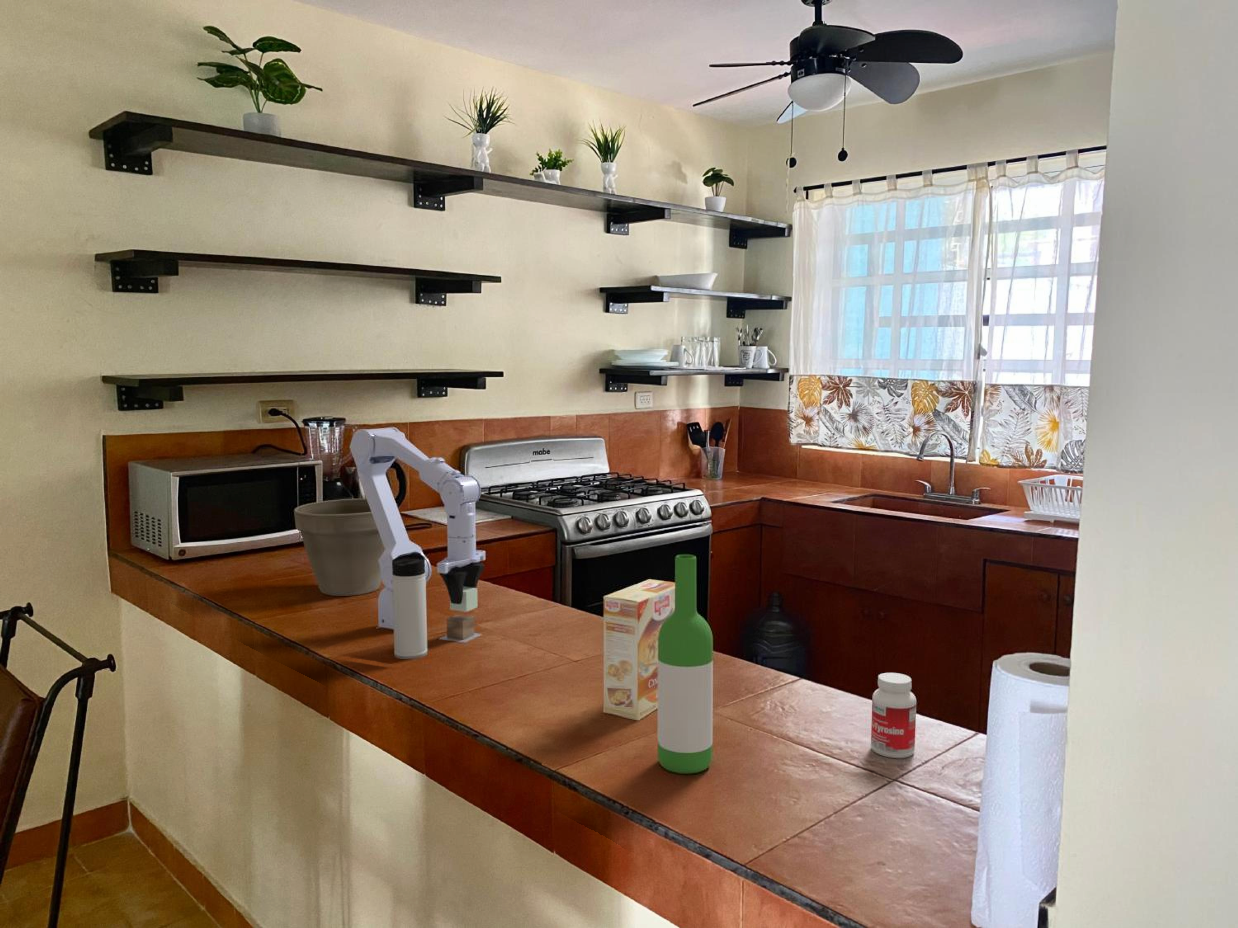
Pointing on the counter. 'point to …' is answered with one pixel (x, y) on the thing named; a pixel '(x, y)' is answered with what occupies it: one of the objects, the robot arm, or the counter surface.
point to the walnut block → (460, 627)
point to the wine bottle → (685, 679)
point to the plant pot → (341, 545)
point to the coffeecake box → (634, 646)
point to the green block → (466, 600)
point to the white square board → (461, 640)
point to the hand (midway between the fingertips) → (462, 600)
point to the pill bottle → (893, 716)
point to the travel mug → (409, 606)
